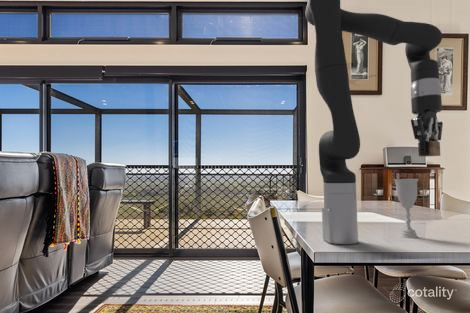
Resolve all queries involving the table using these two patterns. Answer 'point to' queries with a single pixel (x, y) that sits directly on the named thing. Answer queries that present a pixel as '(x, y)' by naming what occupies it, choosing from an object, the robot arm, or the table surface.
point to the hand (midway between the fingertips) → (428, 154)
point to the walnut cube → (431, 148)
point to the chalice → (407, 202)
